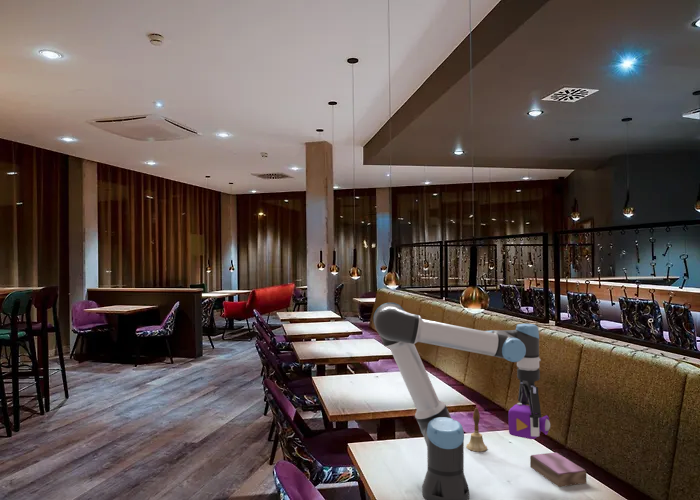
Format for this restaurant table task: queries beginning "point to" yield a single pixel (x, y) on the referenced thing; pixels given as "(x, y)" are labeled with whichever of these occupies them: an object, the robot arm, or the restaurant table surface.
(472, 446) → the hand bell
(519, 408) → the toy camera
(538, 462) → the walnut step
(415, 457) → the restaurant table surface
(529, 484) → the restaurant table surface
